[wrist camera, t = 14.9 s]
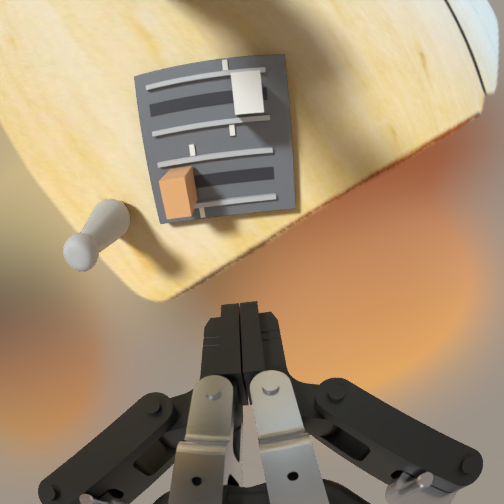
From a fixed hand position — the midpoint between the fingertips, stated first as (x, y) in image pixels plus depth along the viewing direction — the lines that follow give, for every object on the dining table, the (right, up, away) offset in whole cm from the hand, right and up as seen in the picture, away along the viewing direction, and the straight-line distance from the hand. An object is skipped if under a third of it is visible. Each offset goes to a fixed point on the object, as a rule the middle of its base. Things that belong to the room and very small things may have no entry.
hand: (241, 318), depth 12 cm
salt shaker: (-19, +9, +25) cm, 33 cm away
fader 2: (0, +21, +16) cm, 26 cm away
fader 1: (-8, +11, +21) cm, 25 cm away
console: (-4, +17, +21) cm, 27 cm away
